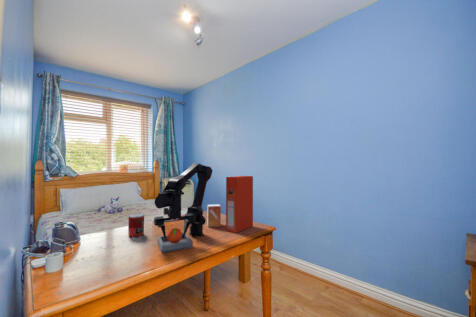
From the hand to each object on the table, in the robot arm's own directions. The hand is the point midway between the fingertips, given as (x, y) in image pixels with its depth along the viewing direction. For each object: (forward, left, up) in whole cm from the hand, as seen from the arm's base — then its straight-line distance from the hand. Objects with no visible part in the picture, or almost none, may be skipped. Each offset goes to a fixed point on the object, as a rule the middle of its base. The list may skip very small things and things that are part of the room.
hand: (174, 236), depth 104 cm
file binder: (-41, -9, -4) cm, 42 cm away
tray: (0, 0, -4) cm, 4 cm away
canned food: (+16, -24, -4) cm, 29 cm away
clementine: (0, 0, -3) cm, 3 cm away
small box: (-29, -22, -4) cm, 37 cm away
